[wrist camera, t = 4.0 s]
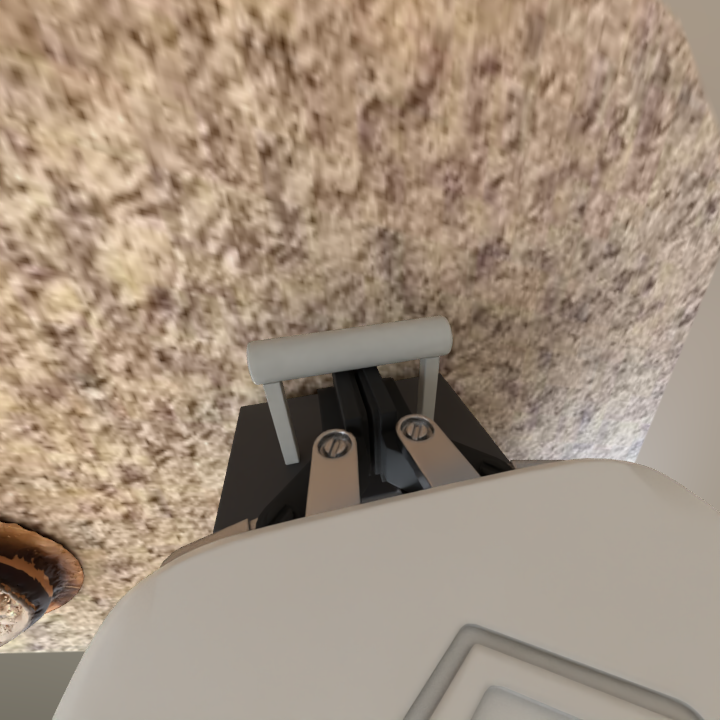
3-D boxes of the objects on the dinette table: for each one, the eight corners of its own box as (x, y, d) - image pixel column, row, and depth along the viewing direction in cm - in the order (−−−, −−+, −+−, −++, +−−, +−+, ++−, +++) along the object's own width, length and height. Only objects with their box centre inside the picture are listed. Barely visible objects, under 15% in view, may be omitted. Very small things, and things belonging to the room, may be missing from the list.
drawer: (205, 306, 13) (135, 406, 7) (450, 277, 15) (556, 339, 9) (286, 538, 23) (285, 656, 17) (425, 505, 25) (467, 603, 19)
